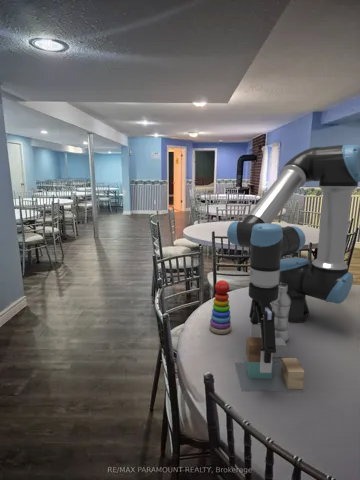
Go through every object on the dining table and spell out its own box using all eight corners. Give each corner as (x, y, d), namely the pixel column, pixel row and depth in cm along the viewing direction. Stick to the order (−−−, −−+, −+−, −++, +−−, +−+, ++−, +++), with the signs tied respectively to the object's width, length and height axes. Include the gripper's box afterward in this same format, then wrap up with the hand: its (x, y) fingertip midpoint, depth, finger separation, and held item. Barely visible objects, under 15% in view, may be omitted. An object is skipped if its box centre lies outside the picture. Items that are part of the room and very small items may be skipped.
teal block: (267, 369, 85) (268, 353, 84) (271, 378, 81) (272, 362, 80) (246, 369, 85) (247, 353, 84) (249, 378, 82) (250, 361, 81)
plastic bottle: (278, 347, 97) (282, 290, 93) (264, 338, 103) (267, 283, 99) (292, 342, 100) (297, 286, 96) (277, 333, 106) (281, 280, 102)
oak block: (280, 373, 83) (281, 357, 82) (294, 374, 83) (296, 358, 82) (287, 388, 77) (288, 371, 76) (302, 389, 77) (304, 372, 76)
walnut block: (267, 353, 84) (268, 337, 83) (271, 362, 80) (272, 345, 79) (245, 353, 84) (246, 337, 83) (248, 361, 81) (249, 345, 79)
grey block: (281, 352, 95) (282, 338, 94) (285, 359, 91) (286, 345, 90) (262, 352, 95) (263, 337, 94) (265, 359, 91) (266, 344, 90)
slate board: (288, 365, 88) (289, 363, 88) (304, 394, 76) (304, 391, 76) (234, 364, 89) (234, 362, 88) (241, 393, 77) (241, 390, 77)
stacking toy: (231, 336, 105) (232, 285, 101) (208, 333, 106) (209, 284, 102) (231, 325, 112) (233, 278, 108) (210, 323, 114) (211, 276, 110)
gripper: (241, 269, 90) (238, 334, 94) (260, 301, 66) (255, 387, 71) (266, 269, 90) (262, 334, 94) (294, 302, 66) (287, 387, 70)
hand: (259, 357), depth 82 cm, fingers open, 12 cm apart
